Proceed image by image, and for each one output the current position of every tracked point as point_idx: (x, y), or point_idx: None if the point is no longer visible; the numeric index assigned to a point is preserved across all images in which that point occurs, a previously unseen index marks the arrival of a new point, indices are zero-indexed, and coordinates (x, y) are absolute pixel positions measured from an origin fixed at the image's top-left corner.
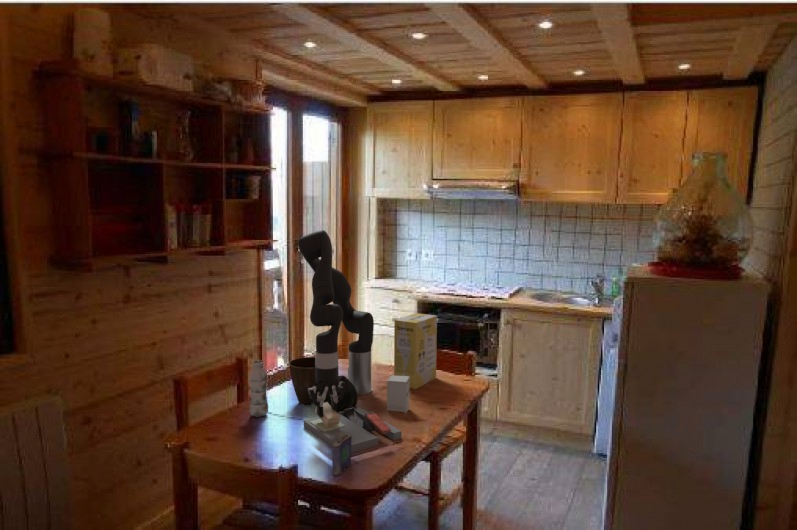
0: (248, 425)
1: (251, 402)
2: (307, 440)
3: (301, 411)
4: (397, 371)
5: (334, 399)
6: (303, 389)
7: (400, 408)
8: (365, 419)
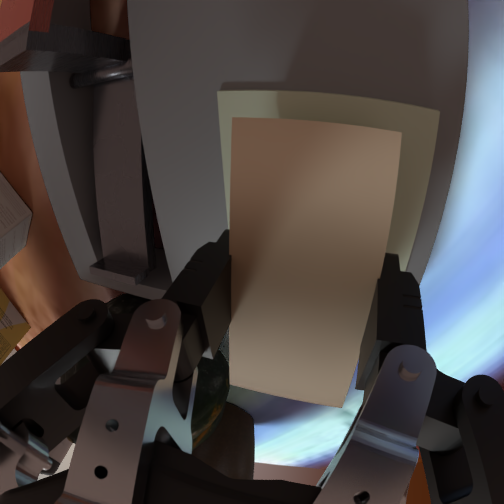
0: None
1: None
2: (459, 204)
3: (276, 401)
4: (7, 343)
5: (167, 355)
6: (237, 461)
7: None
8: (65, 31)
